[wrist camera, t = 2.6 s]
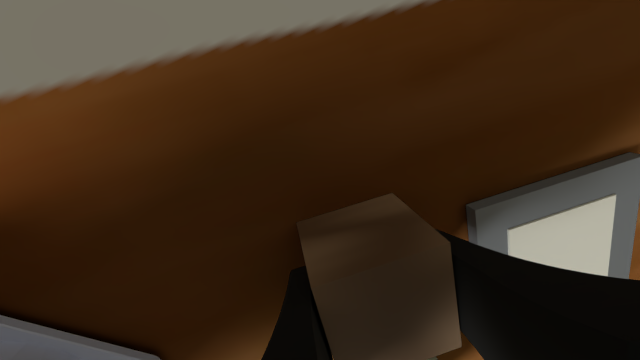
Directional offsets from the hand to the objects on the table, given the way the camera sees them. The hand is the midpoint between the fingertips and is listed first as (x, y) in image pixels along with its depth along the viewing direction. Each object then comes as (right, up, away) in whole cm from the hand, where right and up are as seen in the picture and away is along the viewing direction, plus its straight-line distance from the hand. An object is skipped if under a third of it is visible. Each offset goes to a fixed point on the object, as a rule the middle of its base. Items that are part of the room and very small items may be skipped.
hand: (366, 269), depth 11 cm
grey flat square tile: (+9, 0, +3) cm, 10 cm away
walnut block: (0, 0, +1) cm, 2 cm away
